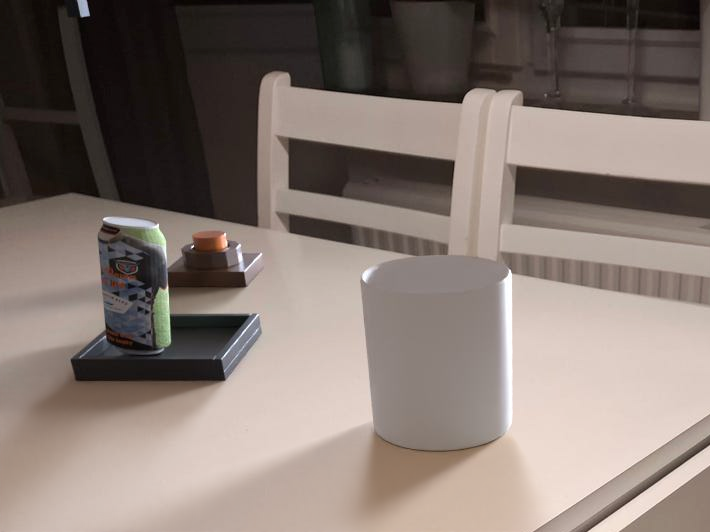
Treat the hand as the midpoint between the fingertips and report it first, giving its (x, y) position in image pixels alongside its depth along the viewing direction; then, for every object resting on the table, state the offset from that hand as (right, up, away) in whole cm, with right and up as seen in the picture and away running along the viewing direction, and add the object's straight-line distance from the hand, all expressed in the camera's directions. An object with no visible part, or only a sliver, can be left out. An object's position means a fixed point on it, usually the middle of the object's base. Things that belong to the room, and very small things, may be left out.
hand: (79, 16), depth 115 cm
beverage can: (+13, -44, -15) cm, 48 cm away
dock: (+15, -44, -14) cm, 49 cm away
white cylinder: (+43, -56, -30) cm, 76 cm away
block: (+13, -25, +10) cm, 30 cm away
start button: (+13, -23, +8) cm, 28 cm away
